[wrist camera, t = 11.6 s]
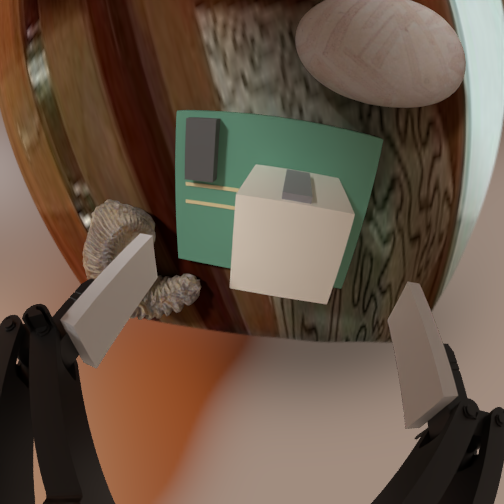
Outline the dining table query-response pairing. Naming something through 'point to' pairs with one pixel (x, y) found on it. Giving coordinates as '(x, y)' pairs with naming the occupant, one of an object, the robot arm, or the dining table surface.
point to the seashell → (116, 240)
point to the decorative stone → (381, 51)
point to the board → (243, 161)
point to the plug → (289, 233)
